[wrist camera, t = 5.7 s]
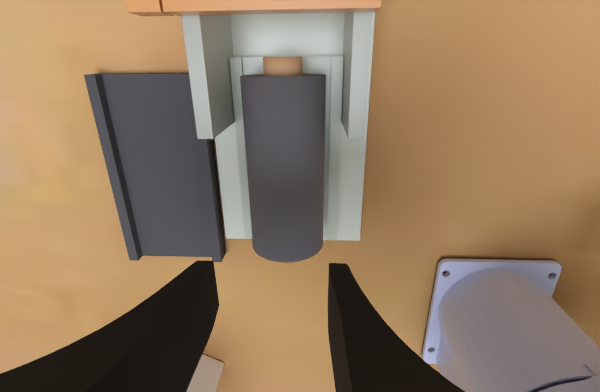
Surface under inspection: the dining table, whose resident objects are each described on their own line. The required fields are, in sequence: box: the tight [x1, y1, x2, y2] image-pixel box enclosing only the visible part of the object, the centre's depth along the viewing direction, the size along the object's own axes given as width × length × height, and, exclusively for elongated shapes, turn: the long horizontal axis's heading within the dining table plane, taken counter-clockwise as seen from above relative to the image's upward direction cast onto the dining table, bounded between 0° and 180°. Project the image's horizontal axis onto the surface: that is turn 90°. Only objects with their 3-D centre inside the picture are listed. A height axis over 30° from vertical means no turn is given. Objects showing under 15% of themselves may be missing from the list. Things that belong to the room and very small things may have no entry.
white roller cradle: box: [182, 12, 375, 241], centre depth 17 cm, size 14×9×6 cm, turn 1°
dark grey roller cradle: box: [84, 73, 226, 262], centre depth 21 cm, size 12×6×1 cm, turn 1°
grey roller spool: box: [240, 57, 326, 263], centre depth 17 cm, size 11×4×4 cm, turn 1°
